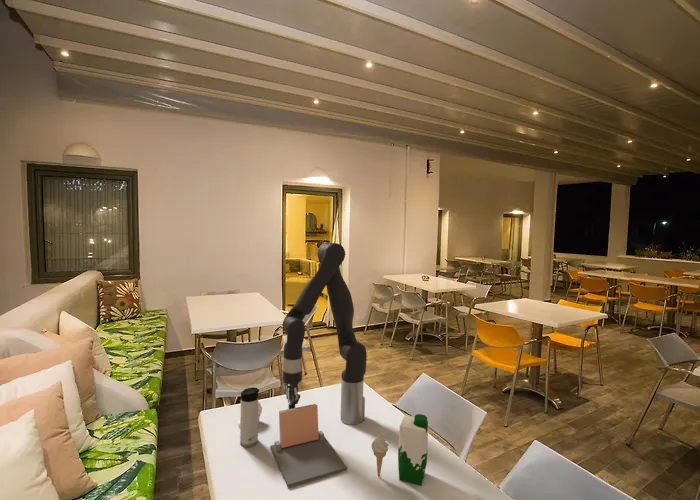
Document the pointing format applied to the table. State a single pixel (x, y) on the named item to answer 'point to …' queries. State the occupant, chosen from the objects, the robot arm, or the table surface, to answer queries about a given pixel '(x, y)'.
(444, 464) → the table surface
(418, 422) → the milk carton
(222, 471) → the table surface
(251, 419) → the travel mug
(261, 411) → the beige irregular lump
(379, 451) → the ice cream cone
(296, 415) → the tile
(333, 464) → the base
